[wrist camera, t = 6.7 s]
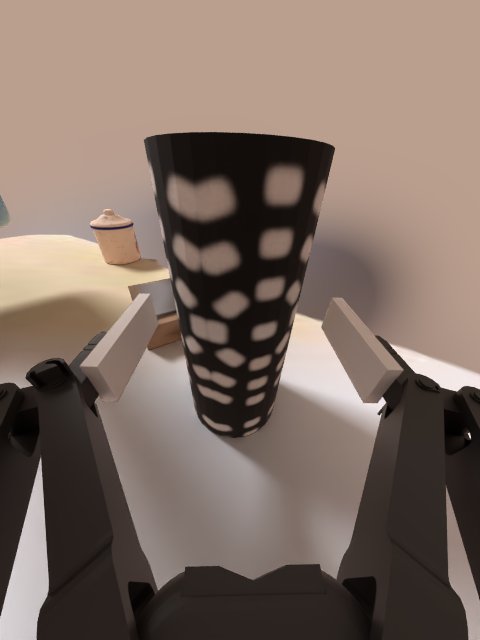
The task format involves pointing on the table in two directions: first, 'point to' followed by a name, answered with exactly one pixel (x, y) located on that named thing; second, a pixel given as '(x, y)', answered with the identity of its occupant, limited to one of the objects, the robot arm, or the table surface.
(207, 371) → the white-spotted black cylinder
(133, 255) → the teacup with lid
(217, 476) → the table surface
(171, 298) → the plinth
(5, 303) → the table surface
